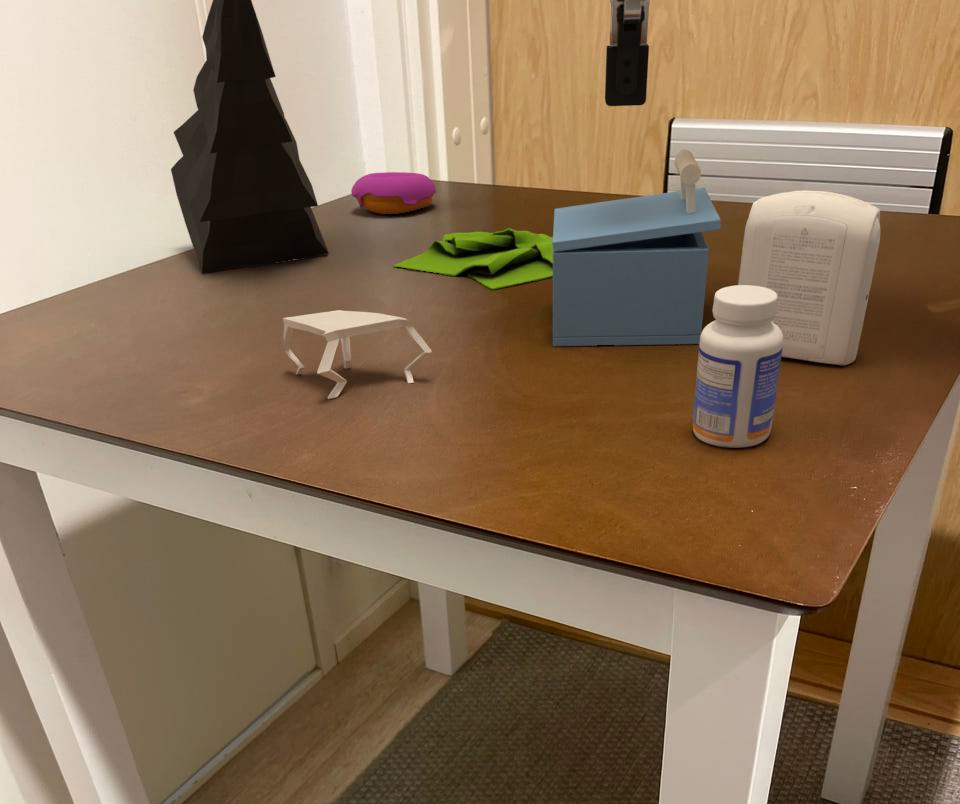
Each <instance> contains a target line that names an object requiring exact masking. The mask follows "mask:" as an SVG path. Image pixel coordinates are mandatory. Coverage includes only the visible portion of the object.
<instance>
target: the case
mask: <svg viewBox="0 0 960 804" xmlns="http://www.w3.org/2000/svg"><path fill="white" fill-rule="evenodd" d="M628 246H633V247H641V248H644V249H624V248H626V247H628ZM709 254H710V249H709V246H708V244H707V241H706V238H705V237H704V234H703V232H699V233H691V234H684V235H676V236H669V237H662V238H654V239H647V240H639V241H632V242H625V243H617V244H610V245H602V246H595V247H588V248H580V249H573V250H566V251H558V252H553V277H552V347H597V345H614V346H659V345H660V346H665V345H666V346H667V345H669V346H670V345H671V346H672V345H676V344H677V345H699V344H700V336H701V333H702V331H703V321H704V311H705V310H704V308H705V299H706V289H707V288H706V287H707V278H708V266H709V258H710V257H709V256H710V255H709Z"/></svg>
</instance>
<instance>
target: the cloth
mask: <svg viewBox="0 0 960 804" xmlns="http://www.w3.org/2000/svg"><path fill="white" fill-rule="evenodd" d="M552 242H553V236H549V235H547V234H545V233H534V232H531V231H529V230H515V229H513V228H510V227H508V228H506V229H503V230H498V231H494V232H487V231H472V232H452V233H447V234H444V235H443V237H442V240H435V241H434V242H433V243H432V244H431V245H430V246H429V248H428V249H427V250H426V251H425V252H424V253H421V254H418V255H416V256H413V257H410V258H409V259H406V260H404V261H400V262H399V263H395V264H393V265H392V267H393V268H397V267H401V268H400V269H403V268H408V269H407V270H410V269H414V270H413V271H416V270H420V271H419V272H423V271H426V272H425V273H429V272H433V273H432V274H436V273H439V274H438V275H442V274H443V276H452V277H456V276H459V274H462V273H466V272H468V273H467V277H469V278H470V277H471V278H470V279H473V280H475V281H476V282H477V283H478V284H480V283H481V284H480V285H482V286H484V287H486V288H488V289H490V290H492V291H494V290H500V289H504V288H508V287H509V288H510V287H514V286H519V285H522V284H523V285H524V284H527V283H528V284H529V283H532V281H533V282H537V281H542V280H545V279H549V278H553V244H552ZM518 284H519V285H518Z"/></svg>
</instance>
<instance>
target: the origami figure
mask: <svg viewBox="0 0 960 804" xmlns="http://www.w3.org/2000/svg"><path fill="white" fill-rule="evenodd" d="M282 322H283V336H282V337H283V338H282V339H283V353H285V354H286V356H288V357H289V358H290V359H291V360H292V361H293V362H294V364H296V365H297V367H298V368H297V370H296V372H295V375H296V376H297V375H302V372H303V371H304V369H305V365H304V364H303V363H302V362H301V360H299V358H298V357H297V356H296V355H295V353H294V352H293V351H292V350H291V349H290V346H291V342H292V341H291V340H292V337H293V335H294V332H295V329H296V330H300V331H304V332H308V333H312V334H315V335H318V336H321V337H324V338H325V341H326V342H327V343H326V346H325V348H324V352H323V355H322V357H321V360H320V363H319V365H318V368H317V372H316V373H317V375H320V376H322V377H325V378H327V379H329V380H331V381H334V382H336V384H335V386H334V387H333V389H332V390H331V391H330V393H329V395H328V396H327V399H328V400H330V399H334V398H338V397H339V395H340V394H341V392H342V390H343V389H344V387H345V385H346V384H347V382H348V380H347V379H345V378H344V377H343V376H342V375H340V374H339V373H337V372H336V371H335V370H333V369H332V365H333V361H334V358H335V354H336V352H337V349H338V345H339V343H340V345H341V351H342V359H343V369H351V368H352V353H351V340H350V339H351V338H352V337H356V336H357V337H358V336H361V335H363V336H364V335H368V334H372V333H379V332H384V331H390V330H395V329H400V328H402V329H403V330H404V332H405V333H407V334H408V336H409V337H411V338H412V339H413V340H414V342H415V343H416V344H418V346H419V347H420V348H421V349H422V350H423V351H422V352H421V353H420V354H418V355H417V357H415V358H414V359H412V361H411V362H410V363H408V364H407V365H406V366H405V367H403V372H404V376H405V379H406V382H407V384H414V383H415V381H414V378H413V373H412V369H413V368H414V367H415V366H417V365H418V364H419V363H420V362H422V361H423V360H424V359H425V358H427V357H428V356H429V355H431V354H432V353H433V351H432V349H431V348H430V347H429V346H428V345H427V343H426V341H425V340H424V339H423V336H421V334H419V332H417V330H416V328H414V326H413V325H412V323H411V322H410V321H409V320H408V319H407V318H405V317H403V316H402V317H400V316H395V315H390V314H385V313H381V312H371V311H370V312H369V311H356V310H355V311H353V310H341V309H338V310H331V311H323V312H315V313H308V314H302V315H295V316H289V317H282Z"/></svg>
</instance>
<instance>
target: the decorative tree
mask: <svg viewBox="0 0 960 804" xmlns="http://www.w3.org/2000/svg"><path fill="white" fill-rule="evenodd" d="M201 38H202V41H203V45H204V47H205V59H206V60H205V61H204V64H203V65H202V67H201V69H200V70H199V72H198V73H197V75H196V78H195V81H194V85H193V90H192V91H193V95H194V101H195V104H196V108H197V110H196V111H195V112H194V113H193V114H192V115H191V116H190V117H189V118H188V119H186V120H185V121H184V123H182V124H181V125H180V126H179V127H177V128H176V129H175V130H174V131H173V135H174V138H175V140H176V142H177V144H178V147H179V150H180V151H181V155H182V156H181V157H180V159H178V160H177V161H176V163H175V164H174V165H173V166H172V167H171V169H170V173H171V177H172V180H173V185H174V190H175V194H176V197H177V201H178V204H179V207H180V210H181V214H182V217H183V220H184V223H185V227H186V229H187V233H188V236H189V239H190V242H191V245H192V247H193V251H194V254H195V257H196V260H197V263H198V265H199V269H200V272H201V275H205V274H210V273H214V272H218V271H224V270H228V269H233V268H234V269H236V268H245V267H255V266H262V265H271V264H277V263H276V262H280V263H283V262H282V261H287V262H289V261H288V260H293V259H300V260H303V259H302V258H305V259H309V258H315V257H321V256H324V255H329V254H330V252H329V249H328V247H327V245H326V242H325V240H324V239H325V238H324V237H323V234H322V232H321V229H320V227H319V225H318V221H317V219H316V217H315V214H314V212H313V209H312V208H314V207H319V205H318V200H317V198H316V194H315V190H314V187H313V185H312V183H311V181H310V178H309V176H308V174H307V172H306V169H305V167H304V166H303V164H302V161H301V160H300V154H299V148H298V142H297V140H296V138H295V135H294V134H293V132H292V129H291V127H290V125H289V123H288V121H287V119H286V117H285V112H284V109H283V107H282V104H281V102H280V99H279V97H278V94H277V92H276V89H275V86H274V84H273V81H272V78H276V77H277V76H276V73H275V70H274V67H273V64H272V60H271V57H270V54H269V50H268V46H267V44H266V41H265V37H264V34H263V31H262V27H261V24H260V22H259V19H258V16H257V13H256V10H255V7H254V4H253V1H252V0H212V2H211V5H210V8H209V11H208V15H207V18H206V21H205V25H204V29H203V33H202V36H201ZM204 273H205V274H204Z"/></svg>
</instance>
